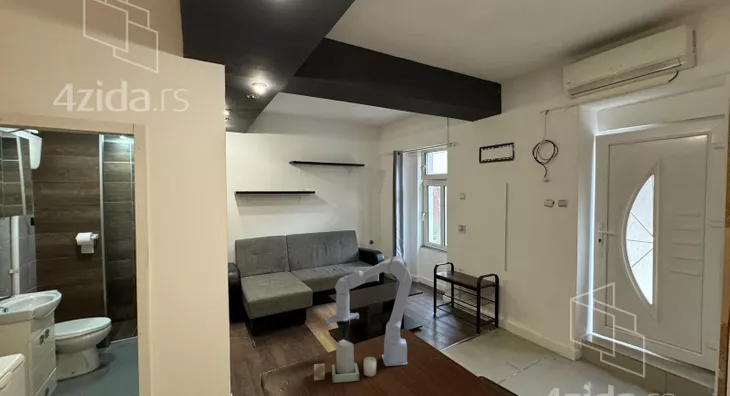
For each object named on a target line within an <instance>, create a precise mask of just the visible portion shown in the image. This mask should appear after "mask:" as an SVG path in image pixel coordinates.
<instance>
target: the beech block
mask: <svg viewBox="0 0 730 396" xmlns="http://www.w3.org/2000/svg"><path fill="white" fill-rule="evenodd" d="M313 365H314V366H313V380H314V381H320V380H321V381H322V380H325V377H326V375H325V374H326V373H325V371H326V367H325V366H326V365H325V363H316V364H313Z"/></svg>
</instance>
